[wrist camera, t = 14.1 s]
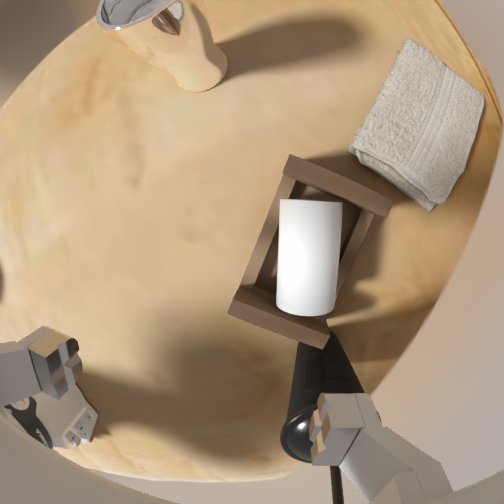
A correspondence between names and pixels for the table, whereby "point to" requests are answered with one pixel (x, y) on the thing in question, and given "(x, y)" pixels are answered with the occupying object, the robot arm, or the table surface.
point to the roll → (308, 256)
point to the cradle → (266, 250)
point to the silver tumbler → (168, 38)
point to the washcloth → (420, 126)
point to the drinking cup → (316, 399)
